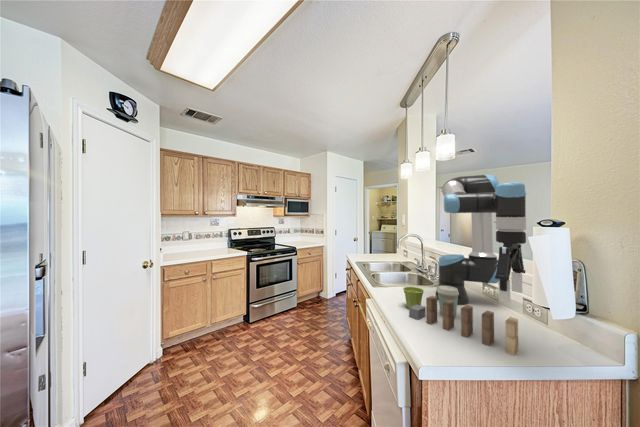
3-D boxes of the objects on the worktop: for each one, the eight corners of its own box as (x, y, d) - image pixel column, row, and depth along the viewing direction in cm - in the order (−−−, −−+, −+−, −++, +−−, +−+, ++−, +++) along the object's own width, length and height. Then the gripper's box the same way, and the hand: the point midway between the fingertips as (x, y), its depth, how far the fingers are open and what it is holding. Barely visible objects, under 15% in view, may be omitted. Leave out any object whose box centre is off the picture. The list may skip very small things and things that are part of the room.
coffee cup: (462, 320, 96) (462, 291, 96) (440, 318, 98) (440, 290, 98) (455, 312, 105) (454, 285, 105) (434, 310, 106) (434, 284, 106)
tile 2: (487, 338, 82) (486, 310, 82) (494, 341, 80) (493, 312, 80) (482, 343, 78) (481, 314, 79) (489, 346, 77) (488, 316, 77)
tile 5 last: (432, 319, 97) (432, 295, 97) (437, 321, 95) (437, 296, 96) (426, 322, 94) (426, 298, 94) (431, 324, 92) (431, 299, 93)
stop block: (416, 313, 103) (416, 304, 103) (425, 316, 100) (425, 307, 100) (409, 316, 100) (409, 307, 100) (418, 320, 96) (417, 310, 97)
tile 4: (448, 325, 92) (448, 300, 92) (454, 327, 90) (453, 301, 90) (442, 328, 89) (442, 302, 89) (448, 330, 87) (448, 304, 87)
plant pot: (400, 303, 115) (400, 286, 115) (419, 304, 114) (419, 286, 115) (406, 311, 105) (406, 292, 106) (427, 311, 105) (427, 292, 105)
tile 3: (466, 331, 87) (466, 304, 87) (472, 333, 85) (472, 306, 85) (461, 335, 84) (460, 308, 84) (467, 338, 82) (467, 309, 82)
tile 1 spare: (510, 347, 76) (510, 316, 77) (518, 349, 75) (517, 318, 75) (505, 352, 73) (505, 320, 74) (513, 355, 72) (513, 323, 72)
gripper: (507, 228, 85) (508, 286, 85) (482, 231, 70) (483, 301, 70) (534, 229, 79) (535, 291, 79) (513, 233, 64) (514, 309, 64)
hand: (511, 296), depth 75 cm, fingers open, 13 cm apart
